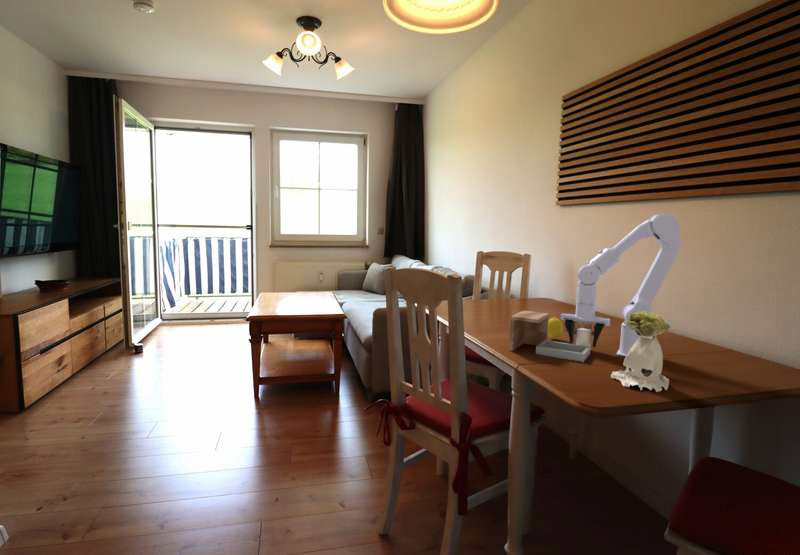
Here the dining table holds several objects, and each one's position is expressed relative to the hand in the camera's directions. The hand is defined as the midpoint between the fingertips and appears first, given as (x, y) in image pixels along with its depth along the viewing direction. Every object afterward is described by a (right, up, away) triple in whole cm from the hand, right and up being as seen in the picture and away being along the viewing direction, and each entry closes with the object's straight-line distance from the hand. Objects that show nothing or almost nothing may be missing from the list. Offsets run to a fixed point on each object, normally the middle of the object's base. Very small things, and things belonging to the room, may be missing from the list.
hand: (582, 344), depth 145 cm
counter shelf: (-18, -1, 0) cm, 18 cm away
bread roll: (+9, +1, +27) cm, 29 cm away
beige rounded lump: (0, -2, 0) cm, 2 cm away
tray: (-9, -2, -6) cm, 11 cm away
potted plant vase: (+2, -5, -30) cm, 31 cm away
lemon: (-5, 0, +13) cm, 14 cm away
